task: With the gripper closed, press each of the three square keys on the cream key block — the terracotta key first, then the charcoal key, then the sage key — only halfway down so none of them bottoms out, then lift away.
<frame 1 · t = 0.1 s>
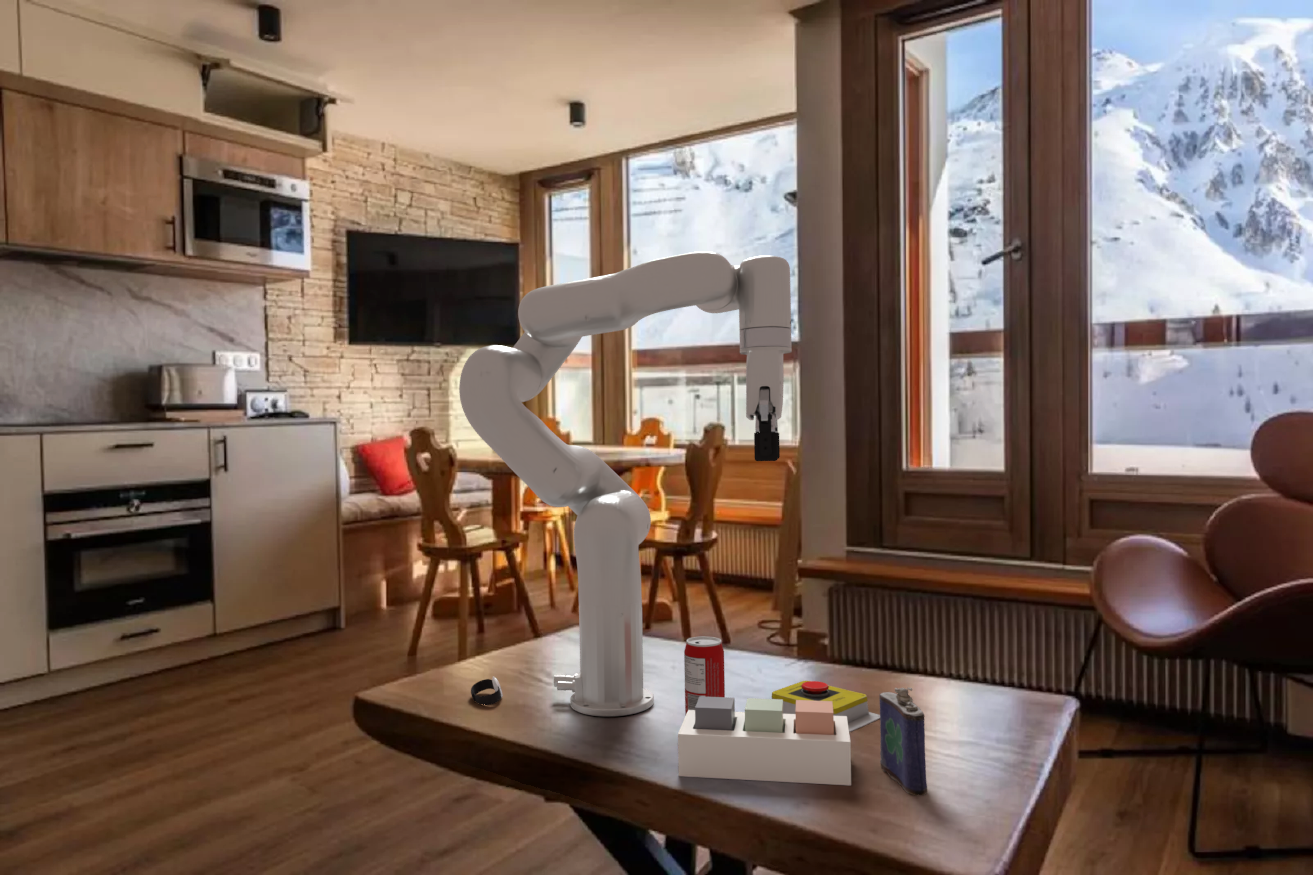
hand: (767, 459, 124), 37 cm above the table, tool pointing down, fingers open, 9 cm apart
soda can: (705, 725, 119), on the table
key block: (765, 765, 103), on the table
watch: (486, 702, 132), on the table
charcoal key: (715, 718, 104), point 6 cm above the table, slide at 0.0 cm
flask: (904, 781, 99), on the table
terracotta key: (814, 722, 102), point 6 cm above the table, slide at 0.0 cm
sage key: (764, 720, 103), point 6 cm above the table, slide at 0.0 cm
emergency button: (821, 717, 123), on the table
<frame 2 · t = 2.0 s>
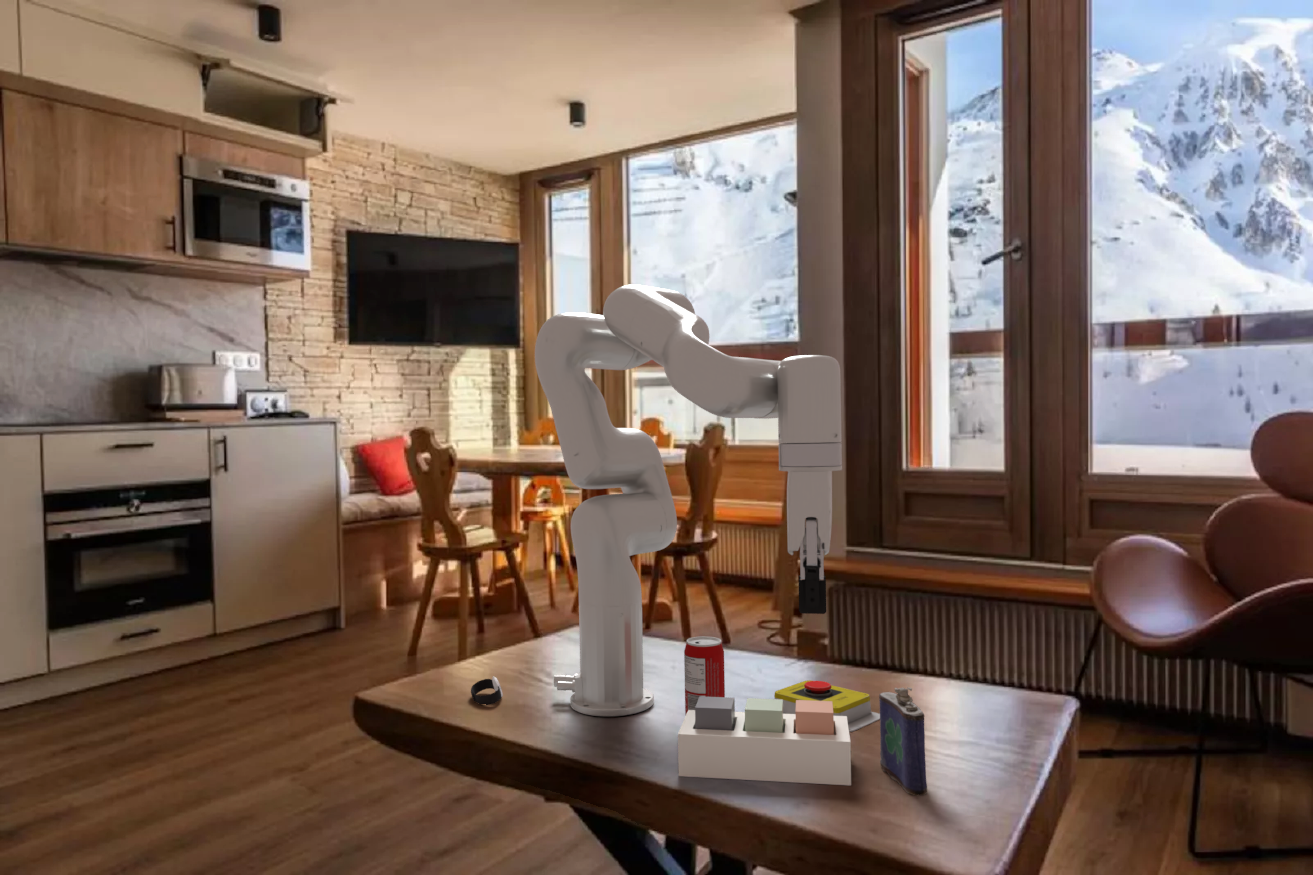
hand: (812, 610, 102), 19 cm above the table, tool pointing down, fingers closed
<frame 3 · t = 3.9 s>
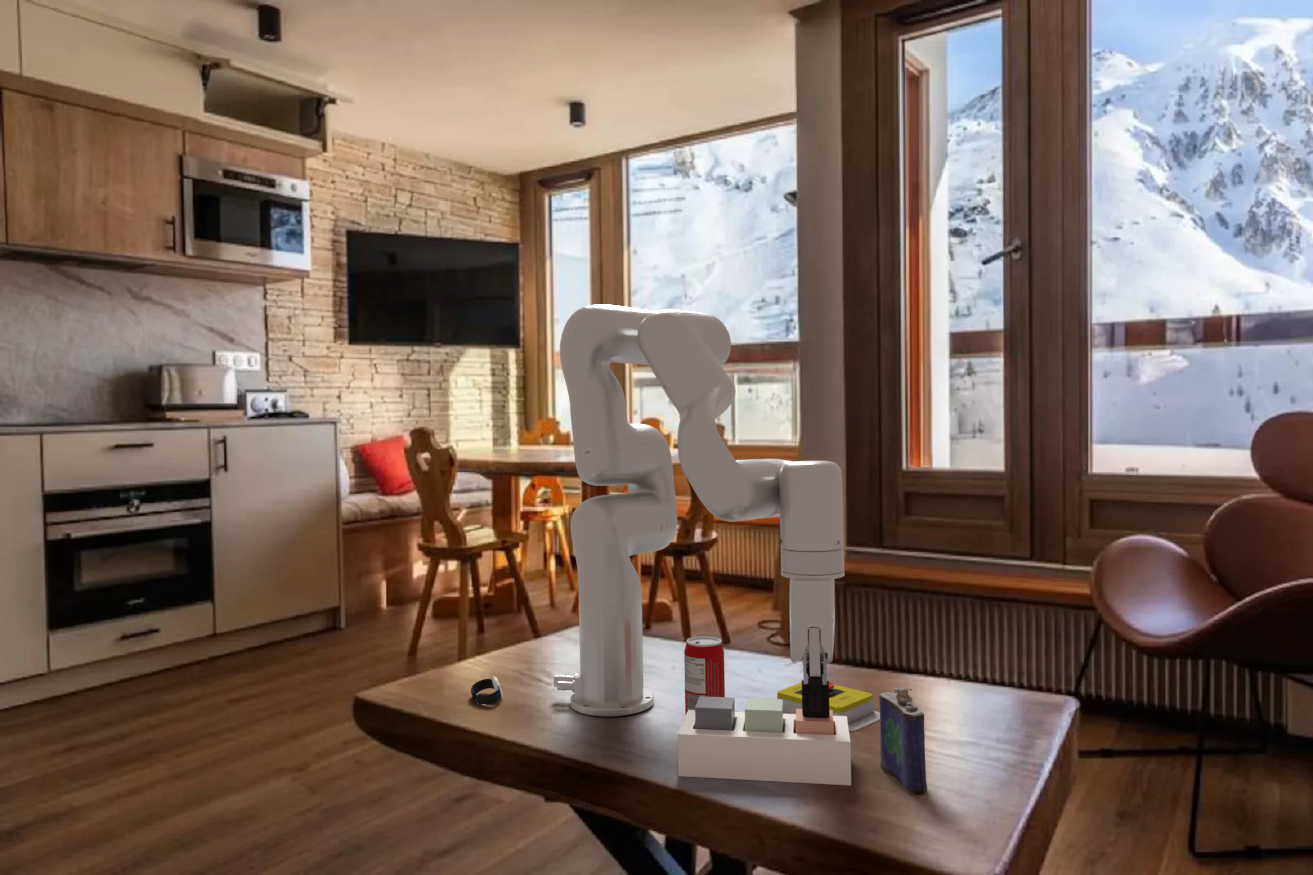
hand: (815, 715, 102), 6 cm above the table, tool pointing down, fingers closed
terracotta key: (814, 731, 102), point 4 cm above the table, slide at 1.1 cm
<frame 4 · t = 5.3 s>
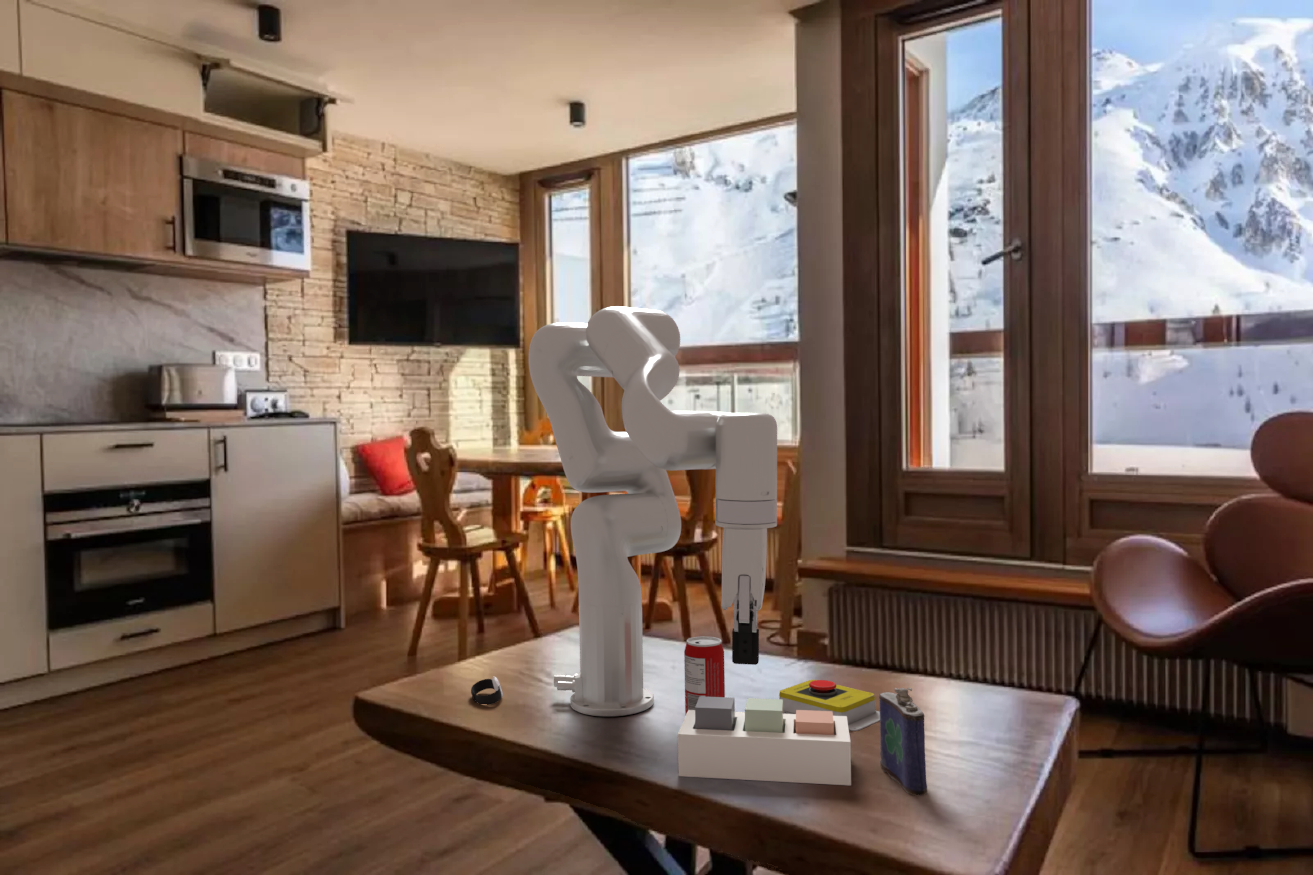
hand: (745, 662, 104), 12 cm above the table, tool pointing down, fingers closed
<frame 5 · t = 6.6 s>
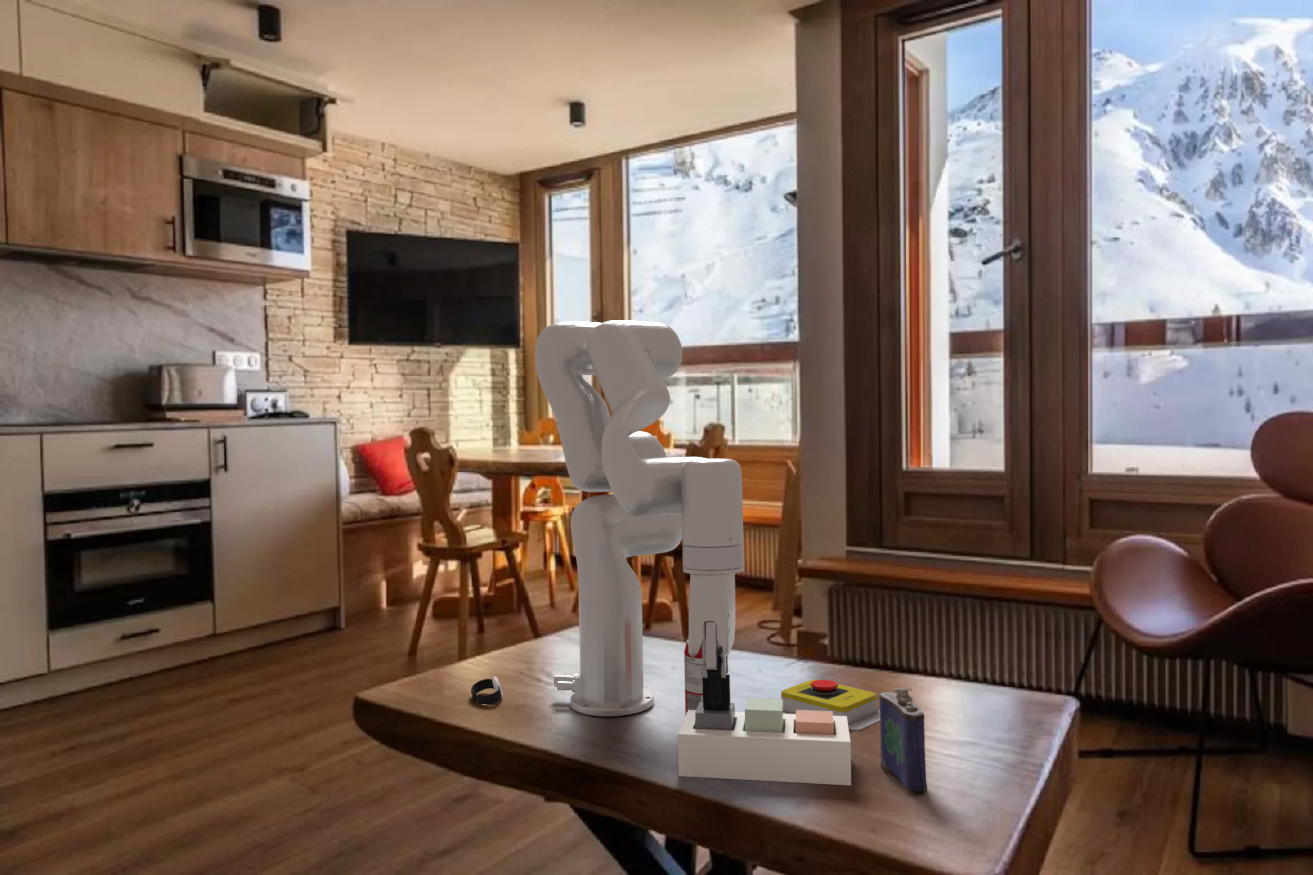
hand: (716, 708, 104), 7 cm above the table, tool pointing down, fingers closed
charcoal key: (715, 724, 104), point 5 cm above the table, slide at 0.7 cm, touching gripper
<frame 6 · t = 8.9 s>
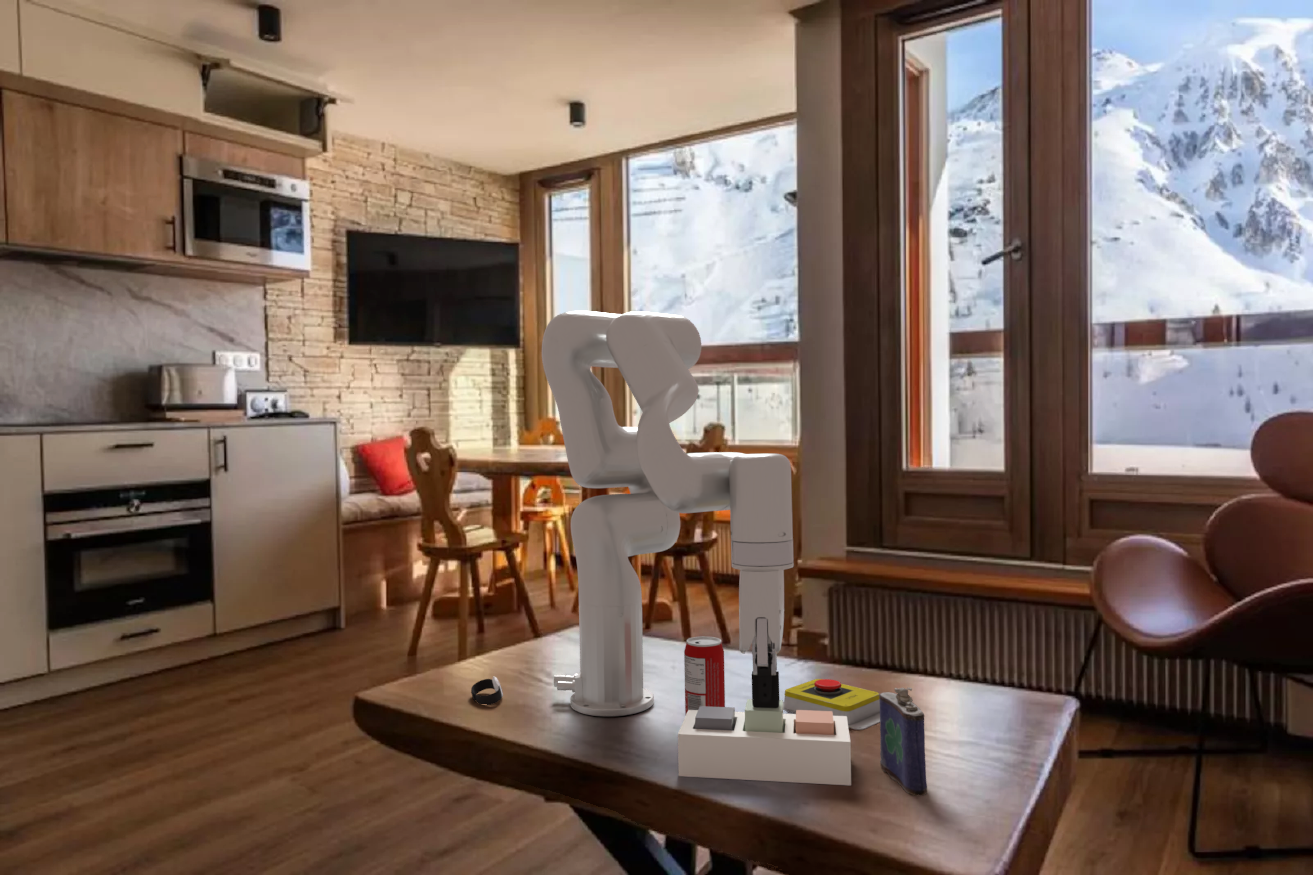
hand: (766, 705, 103), 7 cm above the table, tool pointing down, fingers closed
charcoal key: (715, 728, 104), point 4 cm above the table, slide at 1.2 cm
sage key: (764, 721, 103), point 5 cm above the table, slide at 0.1 cm, touching gripper
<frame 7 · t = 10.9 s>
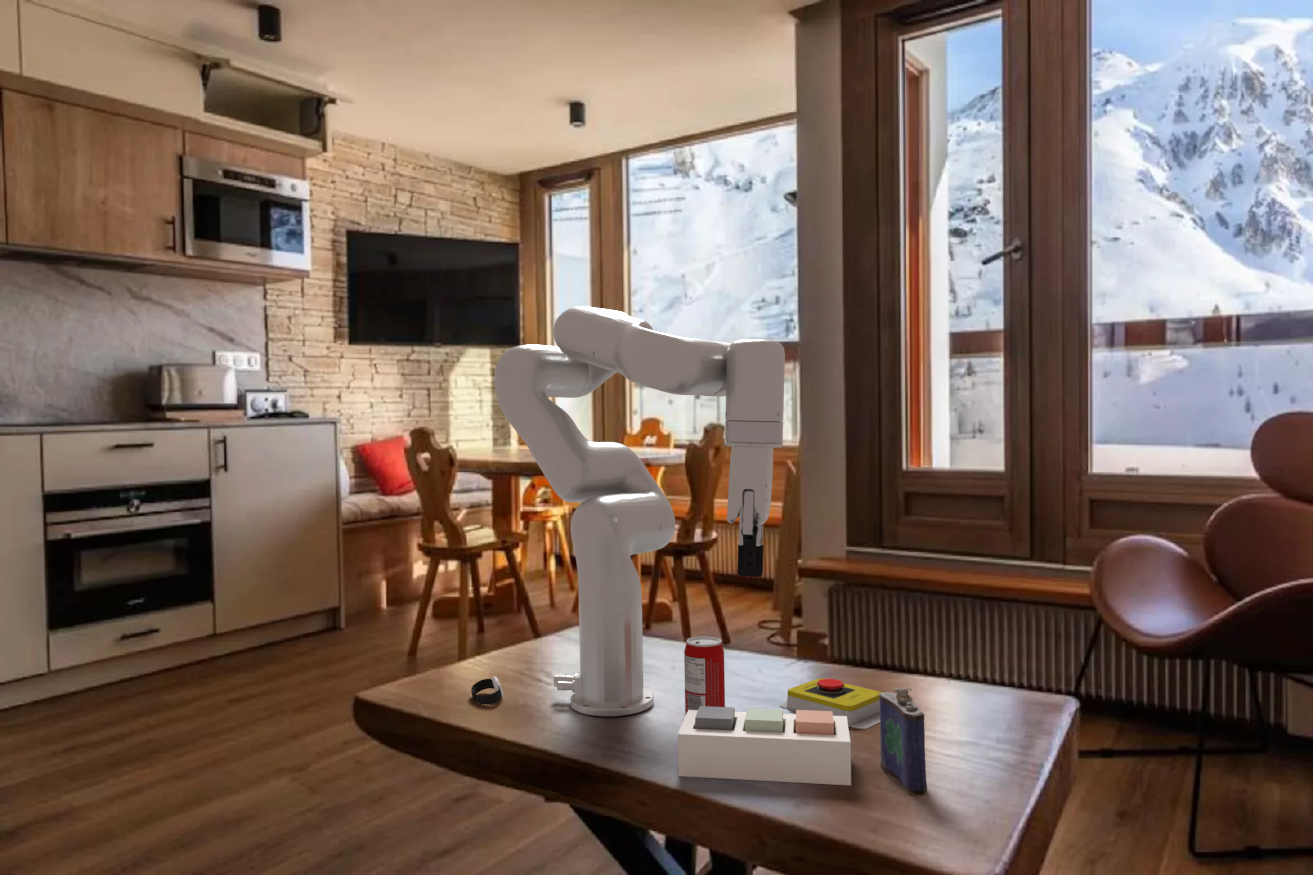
hand: (750, 575, 111), 22 cm above the table, tool pointing down, fingers closed
sage key: (764, 730, 103), point 4 cm above the table, slide at 1.2 cm
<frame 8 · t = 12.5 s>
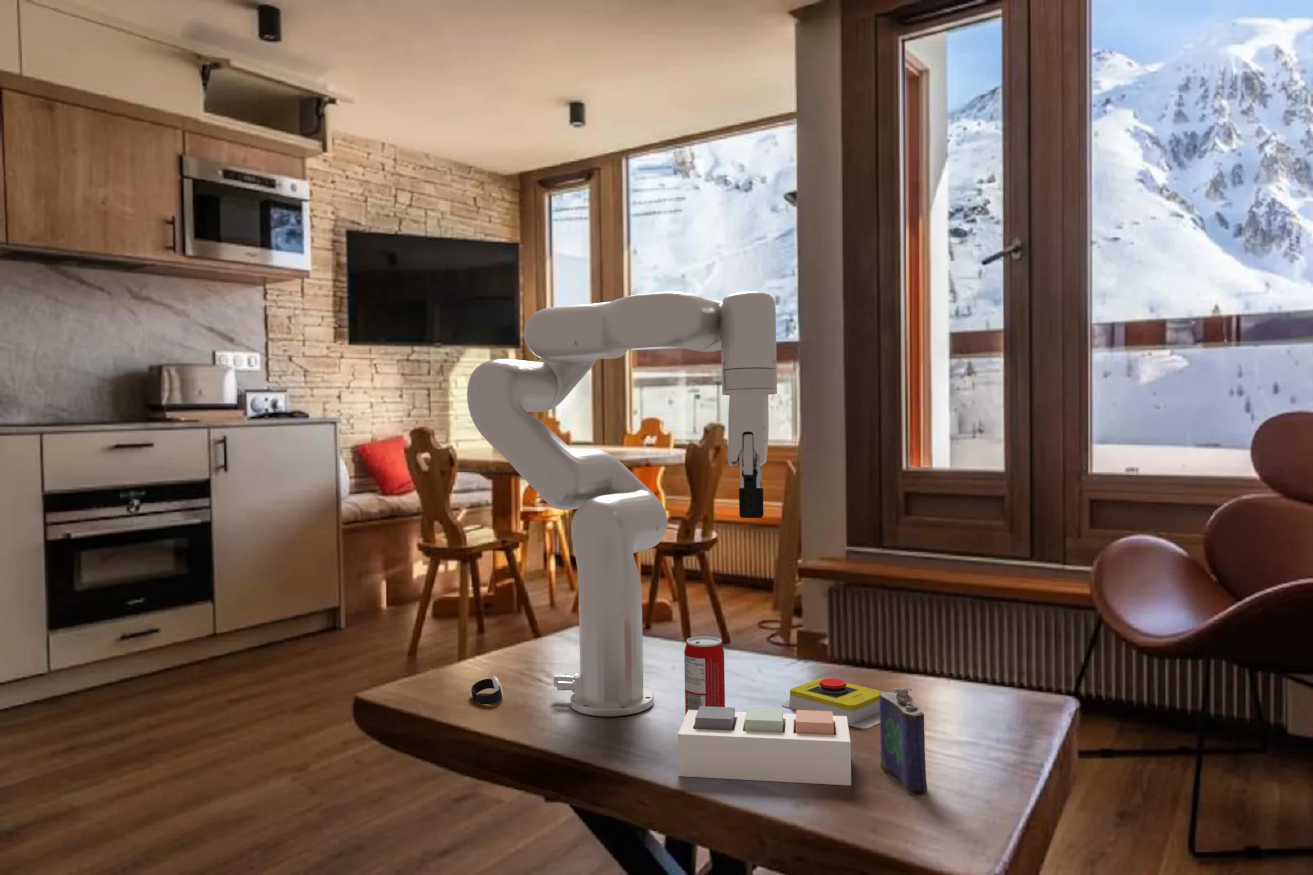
hand: (751, 517, 116), 29 cm above the table, tool pointing down, fingers closed
at the end: terracotta key slide at 1.2 cm; charcoal key slide at 1.2 cm; sage key slide at 1.2 cm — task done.
